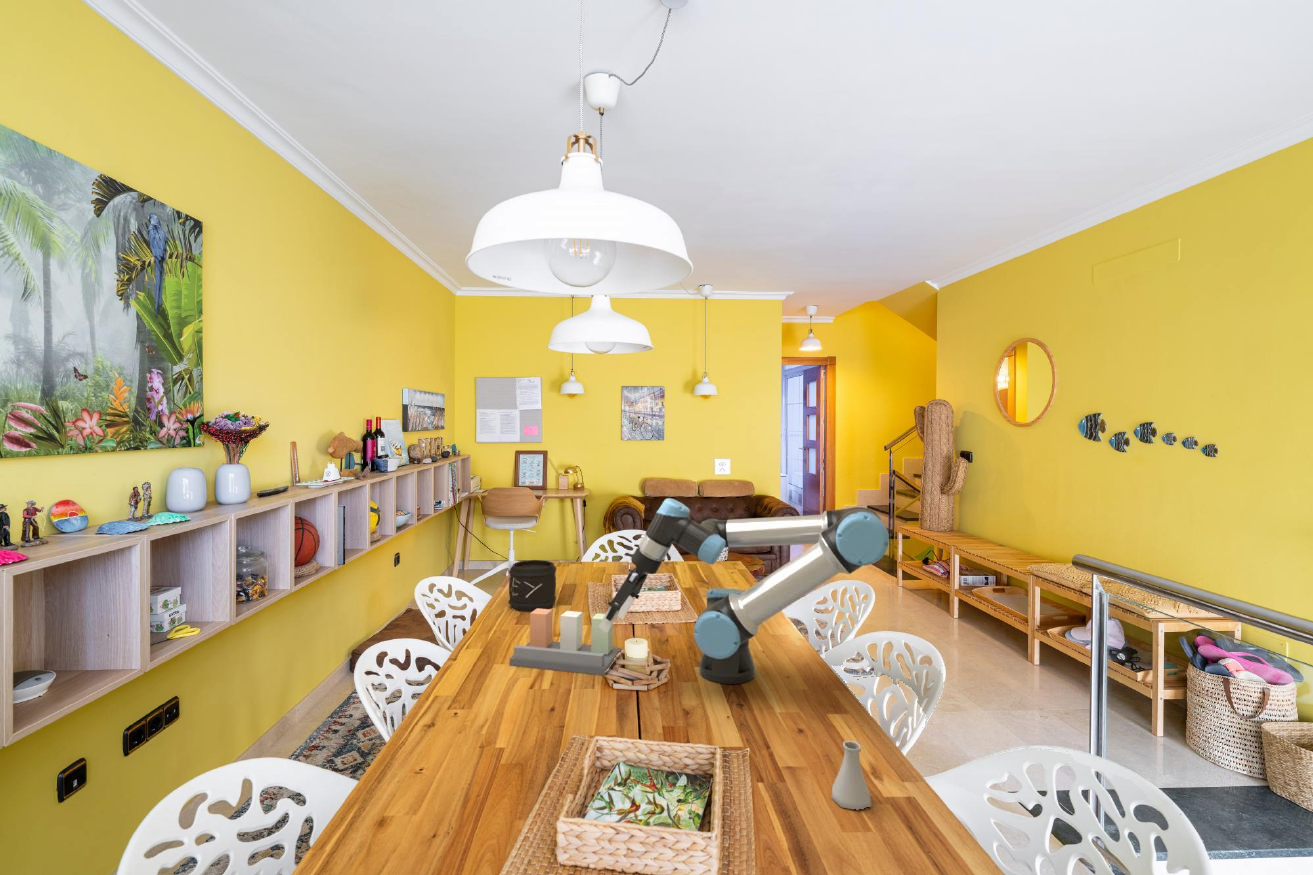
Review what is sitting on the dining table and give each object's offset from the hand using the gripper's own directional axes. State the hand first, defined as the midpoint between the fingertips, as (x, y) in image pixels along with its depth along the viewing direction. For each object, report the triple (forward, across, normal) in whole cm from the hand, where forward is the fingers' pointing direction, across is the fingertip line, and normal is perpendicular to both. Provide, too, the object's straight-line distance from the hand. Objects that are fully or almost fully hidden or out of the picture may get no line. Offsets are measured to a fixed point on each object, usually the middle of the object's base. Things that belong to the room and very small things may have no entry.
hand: (611, 622), depth 161 cm
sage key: (+15, -15, -1) cm, 21 cm away
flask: (-12, +36, +60) cm, 71 cm away
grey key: (+19, -15, -9) cm, 26 cm away
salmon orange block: (+24, -15, -17) cm, 33 cm away
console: (+21, -12, -8) cm, 26 cm away
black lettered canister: (+36, -58, -38) cm, 78 cm away
